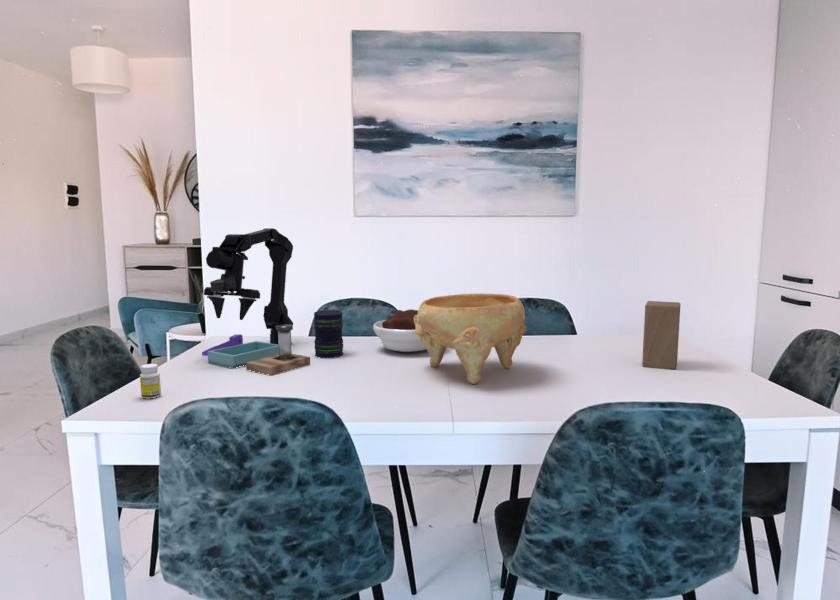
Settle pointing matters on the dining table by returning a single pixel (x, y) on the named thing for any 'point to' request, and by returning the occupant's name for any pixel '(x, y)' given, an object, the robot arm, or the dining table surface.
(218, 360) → the tray
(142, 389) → the supplement bottle
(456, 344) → the decorative bowl
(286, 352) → the pin
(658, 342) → the wooden block
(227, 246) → the robot arm
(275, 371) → the block
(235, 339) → the bracket
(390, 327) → the white bowl of pudding
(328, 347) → the storage jar
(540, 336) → the dining table surface
